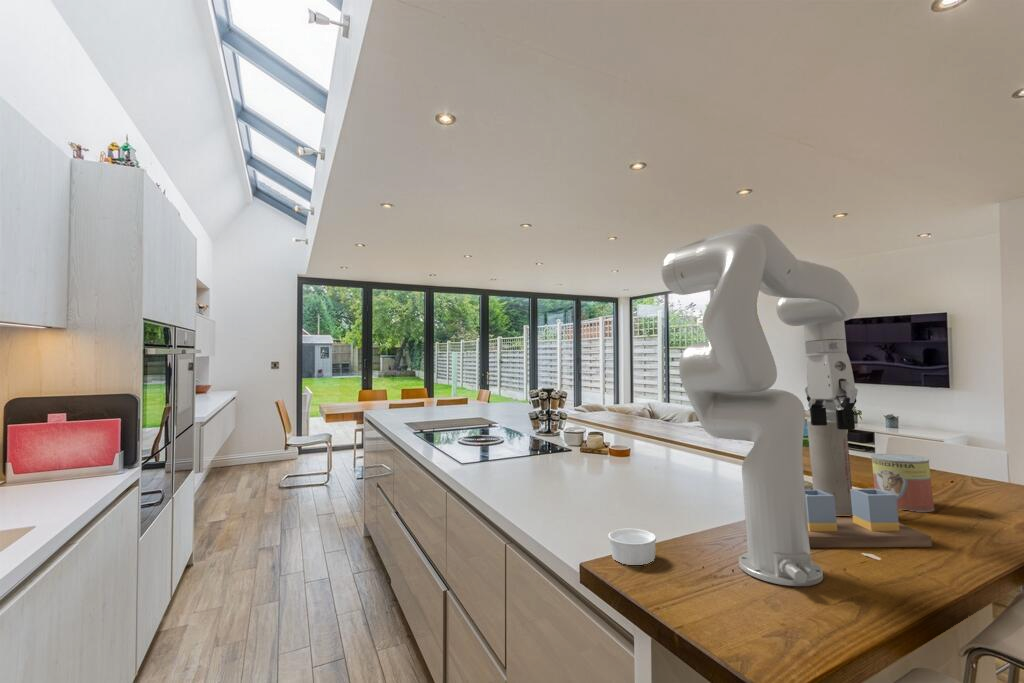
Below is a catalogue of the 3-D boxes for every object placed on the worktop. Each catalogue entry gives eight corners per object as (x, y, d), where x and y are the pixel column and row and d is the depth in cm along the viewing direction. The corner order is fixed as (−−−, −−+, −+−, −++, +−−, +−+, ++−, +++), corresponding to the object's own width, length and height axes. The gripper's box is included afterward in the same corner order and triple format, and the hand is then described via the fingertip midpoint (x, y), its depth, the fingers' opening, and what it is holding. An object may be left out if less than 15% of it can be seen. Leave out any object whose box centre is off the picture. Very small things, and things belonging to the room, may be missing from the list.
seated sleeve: (837, 531, 91) (834, 495, 92) (809, 531, 92) (806, 496, 92) (821, 522, 97) (818, 489, 97) (795, 522, 97) (792, 489, 98)
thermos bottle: (858, 512, 110) (847, 396, 112) (849, 519, 105) (837, 398, 107) (820, 505, 116) (811, 396, 118) (809, 512, 111) (800, 397, 113)
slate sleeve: (899, 530, 91) (896, 495, 91) (871, 530, 91) (868, 495, 92) (879, 522, 96) (876, 488, 97) (853, 522, 96) (850, 489, 97)
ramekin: (600, 554, 88) (599, 532, 89) (638, 547, 92) (636, 525, 92) (627, 572, 80) (626, 547, 81) (667, 562, 83) (666, 538, 84)
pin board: (932, 546, 87) (928, 514, 87) (803, 547, 89) (800, 516, 89) (885, 526, 99) (882, 498, 99) (772, 527, 101) (770, 500, 101)
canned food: (866, 503, 116) (861, 456, 117) (890, 497, 121) (885, 452, 122) (920, 514, 106) (914, 463, 107) (943, 507, 111) (938, 458, 112)
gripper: (870, 345, 91) (878, 431, 89) (821, 352, 108) (826, 424, 107) (831, 346, 92) (838, 431, 90) (788, 352, 109) (793, 424, 107)
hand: (831, 427), depth 98 cm, fingers open, 9 cm apart
